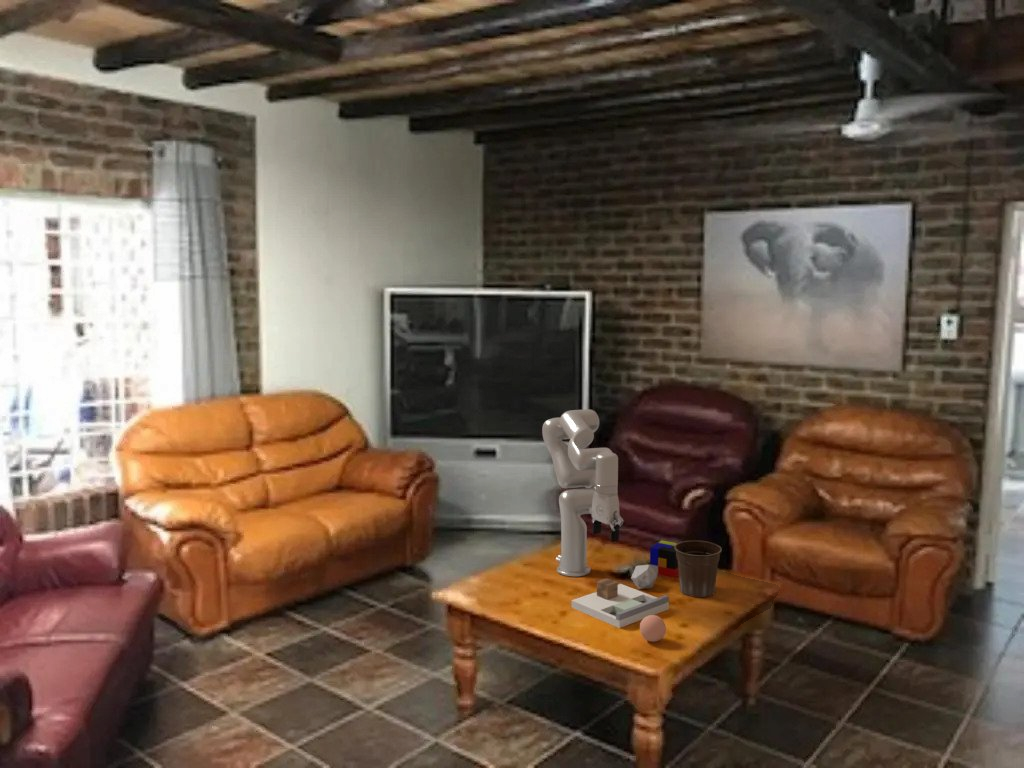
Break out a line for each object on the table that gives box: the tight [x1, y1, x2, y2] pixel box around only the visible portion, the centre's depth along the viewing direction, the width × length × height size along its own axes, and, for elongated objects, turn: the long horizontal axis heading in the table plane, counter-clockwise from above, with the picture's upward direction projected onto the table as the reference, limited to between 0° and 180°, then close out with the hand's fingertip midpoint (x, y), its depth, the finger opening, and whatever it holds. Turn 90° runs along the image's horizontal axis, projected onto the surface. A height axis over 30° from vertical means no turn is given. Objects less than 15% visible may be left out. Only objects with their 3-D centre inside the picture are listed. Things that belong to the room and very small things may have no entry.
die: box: [630, 564, 658, 590], centre depth 306 cm, size 8×9×10 cm
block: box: [596, 578, 619, 600], centre depth 291 cm, size 5×5×5 cm
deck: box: [570, 583, 670, 629], centre depth 287 cm, size 22×24×4 cm
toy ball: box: [639, 614, 667, 643], centre depth 261 cm, size 8×8×8 cm
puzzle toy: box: [649, 540, 679, 579], centre depth 321 cm, size 10×10×10 cm
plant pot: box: [674, 540, 723, 598], centre depth 301 cm, size 16×16×16 cm
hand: (605, 537), depth 293 cm, fingers open, 9 cm apart
